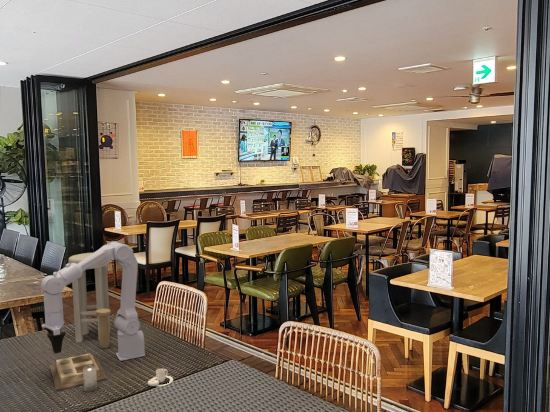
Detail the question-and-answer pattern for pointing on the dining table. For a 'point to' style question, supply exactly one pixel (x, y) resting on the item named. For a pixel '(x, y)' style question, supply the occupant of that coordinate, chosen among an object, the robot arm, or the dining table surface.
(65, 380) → the socket block
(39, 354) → the dining table surface
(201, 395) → the dining table surface
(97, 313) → the handle
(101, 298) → the stool
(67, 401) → the dining table surface
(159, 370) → the teacup and saucer
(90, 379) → the peg
